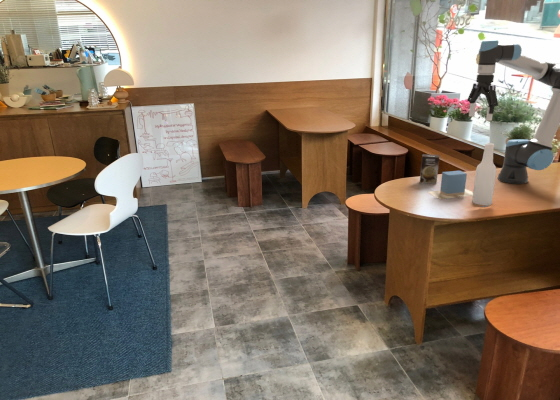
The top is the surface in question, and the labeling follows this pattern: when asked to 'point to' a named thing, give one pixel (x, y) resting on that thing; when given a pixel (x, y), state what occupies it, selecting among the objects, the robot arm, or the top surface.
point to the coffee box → (429, 168)
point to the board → (442, 196)
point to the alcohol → (485, 178)
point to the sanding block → (453, 183)
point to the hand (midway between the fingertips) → (479, 118)
